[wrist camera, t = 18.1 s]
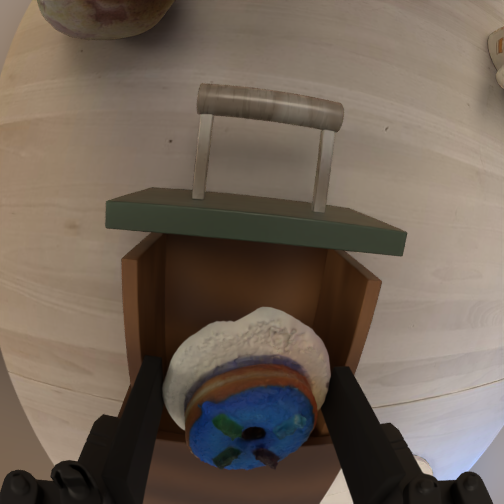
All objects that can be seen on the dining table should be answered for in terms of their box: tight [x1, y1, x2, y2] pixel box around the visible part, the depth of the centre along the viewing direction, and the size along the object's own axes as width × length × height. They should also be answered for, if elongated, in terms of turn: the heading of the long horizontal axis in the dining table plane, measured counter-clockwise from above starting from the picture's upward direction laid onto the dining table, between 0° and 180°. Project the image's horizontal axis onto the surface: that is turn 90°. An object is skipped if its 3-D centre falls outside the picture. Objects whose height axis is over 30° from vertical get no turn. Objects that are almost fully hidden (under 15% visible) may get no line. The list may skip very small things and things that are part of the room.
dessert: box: [162, 307, 331, 470], centre depth 12 cm, size 8×7×6 cm
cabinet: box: [118, 384, 341, 504], centre depth 21 cm, size 16×15×10 cm
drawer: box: [105, 83, 407, 437], centre depth 17 cm, size 20×13×8 cm, turn 174°
